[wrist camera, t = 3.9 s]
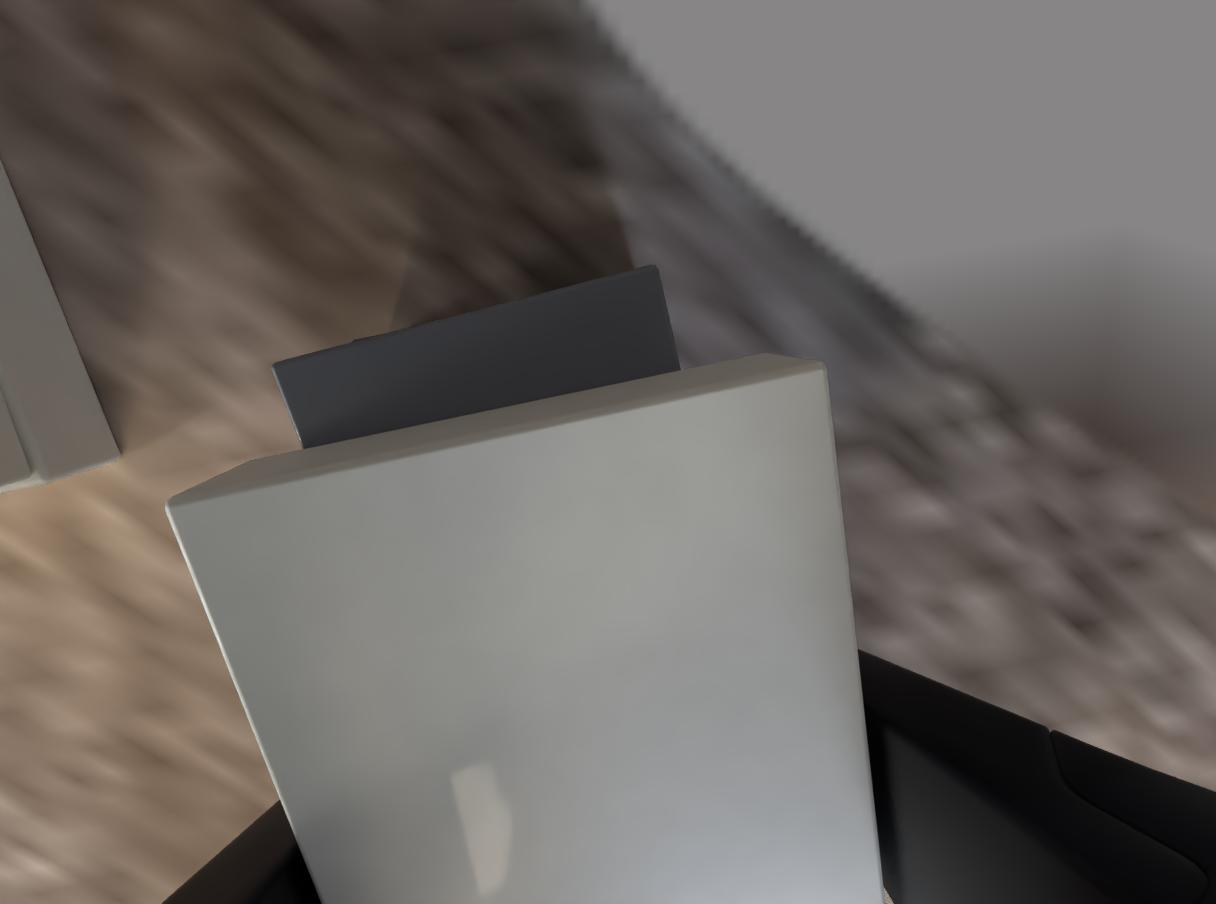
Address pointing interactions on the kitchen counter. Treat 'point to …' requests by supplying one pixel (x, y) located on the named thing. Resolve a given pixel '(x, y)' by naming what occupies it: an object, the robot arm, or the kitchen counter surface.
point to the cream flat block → (40, 371)
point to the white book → (557, 647)
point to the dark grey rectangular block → (483, 359)
